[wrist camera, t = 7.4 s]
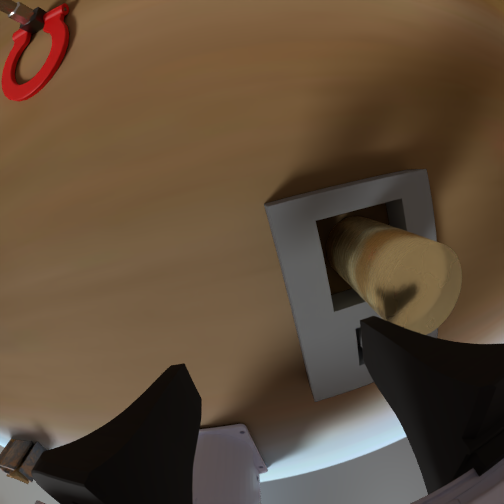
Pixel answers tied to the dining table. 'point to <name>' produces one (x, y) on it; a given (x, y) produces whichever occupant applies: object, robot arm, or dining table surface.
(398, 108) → the dining table surface
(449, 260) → the cylinder
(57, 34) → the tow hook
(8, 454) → the ruin model on sheet
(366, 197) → the grey holder block
